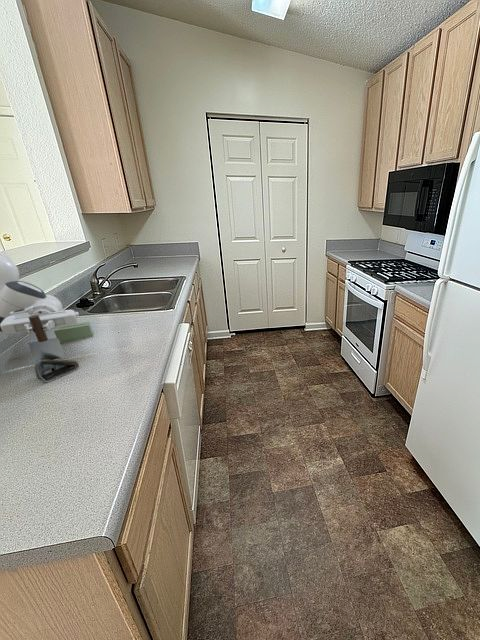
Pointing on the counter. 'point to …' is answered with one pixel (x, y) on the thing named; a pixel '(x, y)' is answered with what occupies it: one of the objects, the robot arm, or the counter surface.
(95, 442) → the counter surface
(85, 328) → the stand
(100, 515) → the counter surface
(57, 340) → the cake cutter
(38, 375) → the dark grey triangular holder
